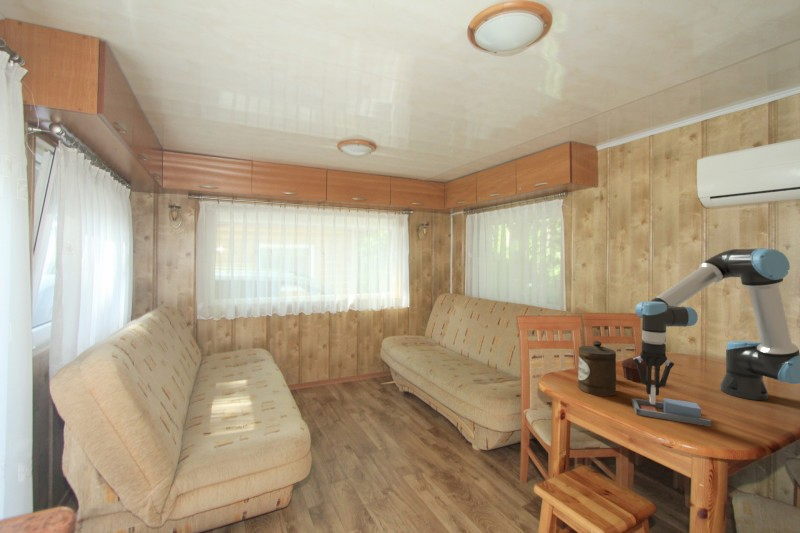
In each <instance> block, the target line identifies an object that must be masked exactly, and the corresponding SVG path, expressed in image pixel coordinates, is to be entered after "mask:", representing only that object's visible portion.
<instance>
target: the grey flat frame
mask: <svg viewBox="0 0 800 533" xmlns="http://www.w3.org/2000/svg"><path fill="white" fill-rule="evenodd" d="M631 405H632V408H633V409H634V412H635V414H636V416H644V417H650V418H655V419H656V418H657V419H662V420H667V421H673V422H679V423H680V422H681V423H686V424H692V425H697V426H703V425H704V426H705V427H709V426H711V427H712V420H711V419H708V418H702V417H701V418H696V417H689V416H683V415H677V414H670V413H665V412H664V411H658V410H657V408H658V409H663V405H664V401H663V402H662V401H657V400H655V404H651V403H650V402H649V399H642V398H635V397H631ZM704 426H703V427H704Z"/></svg>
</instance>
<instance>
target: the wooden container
mask: <svg viewBox="0 0 800 533" xmlns="http://www.w3.org/2000/svg"><path fill="white" fill-rule="evenodd" d="M601 346H602V342H600V341H599V340H594V341H593V342H592V345H583V346H579V347H578V372H577V373H578V374H577V375H578V376H577V381H578V382H577V384H578V386H577V387H578V389H579V390H580V391H582V392H583V393H584V392H585V394H590V395H592V396H593V395H594V396H601V397H611V396H614V395H616V392H617V369H616V367H617V365H616V364H617V359H616V358H617V354H616V353H617V352H616V351H615V350H614V349H611V348H608V347H605V348H603V347H604V346H602V347H601Z"/></svg>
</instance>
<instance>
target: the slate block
mask: <svg viewBox="0 0 800 533" xmlns="http://www.w3.org/2000/svg"><path fill="white" fill-rule="evenodd" d="M663 403H664V405H663V408H662V409H663V411H662V412H664V413H670V414H677V415H683V416H689V417H696V418H702V416H701V414H702V408H701V407H700V405H699V404H698V403H697V402H691V401H687V400H686V401H685V400H679V399H671V398H666V397H664V398H663Z"/></svg>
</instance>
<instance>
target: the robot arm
mask: <svg viewBox="0 0 800 533" xmlns="http://www.w3.org/2000/svg"><path fill="white" fill-rule="evenodd" d="M790 268H791V266H790V262H789V259H788V257H787V256H786V254H784V253H783V252H781V251H779V250H777V249H774V248H762V247H761V248H742V249H741V248H739V249H737V248H734V249H727V250H725V251H722V252H719V253H717V254H715V255H714V256H710V258H708V259H706V260H705V261H703V262H702V263H700V264H699V265H698V268H697V269H696V270H694V271H693V272H691V273H690V274H688V275H687V276H686V277H684V278H682V279H681V280H680V281H678V282H677V283H674V285H672V286H671V287H669V288H667V290H664V291H663V292H661V293H660V294H659V295H658V296H655V297H654V298H653V299H651V300H650V301H646V300H645V301H640V302H638V303H637V304H636V306H635V308H634V309H635V314H636V316H637V317H638V318H640V319H641V339H642V342H641V352H640V354H639V356H637V357H636V356H635V357H632V358H633V359H634V361H635V362H636V364H637V368H638V372H639V375H640V379H641V382H640V383H641V384H643V385H646V388H645V389H646V391H645V392H646V394H647V395H649V398H648V400H649V402H650V403H651V404H655V401H657V400H656V398H657V397H656V396H659V395H660V387H663V388H664V387H665V386H666V383H667V382H668V378H669V375H670V372H671V369H672V368H673V367H674V366H675V363H674V361H672V360H670V359H668V357H667V353H666V350H667V349H666V348H667V345H666V342H667V327H668V328H669V327H683V328H685V327H693V326H694V325H696V324H697V323H698V318H699V317H698V316H699V315H698V312H697V310H695V309H694V308H693V307H690V306H680V305H682V304H683V303H685V302H687V301H688V300H689V299H691V298H692V297H694V296H695V295H697V294H698V293H700V292H701V291H703V290H704V289H706V288H707V287H709V286H710V285H711V284H713V283H719V282H721V281H723V280H724V279H728V278H740V281H741V285H742V286H744V287H746V288H747V289H748V294H749V298H750V301H751V305H752V306H751V307H752V310H753V316H754V320H755V323H756V329H757V332H758V337H759V341H751V340H730V341H728V342H727V344H726V349H725V351H726V354H725V355H726V357H725V362H726V363H725V366H726V367H725V375H724V377H723V379H722V380H721V383H720V389H719V390H720V391H721V392H723V393H725V394H727V395H731V396H734V397H737V398H741V399H747V400H757V401H766V400H768V399H769V392H768V389H767V387H766V384H765V382H764V377H765V378H768V379H773V380H776V381H778V382H780V383H781V382H782V383H788V384H791V385H797V384H800V349H799V347H798V346H797V345H796V344H794V343H792V339H791V335H790V330H789V324H788V321H787V317H786V310H785V308H784V303H783V299H782V293H781V290H780V285H781V284H782V283H783V282H784V278H785V277H786V276H788V274H789V270H790ZM641 360H643V361H644V362H645V364H646V366H647V372H646V380H645V378H644V374H643V370H642V367H641V364H640V363H641ZM663 364H665V367H664V368H663V369H664V370H663V373H662V375H661V374H660V371H661V366H663ZM653 367H654V373H653V374H654V381H653V384H652V369H653ZM660 375H661V377H660Z"/></svg>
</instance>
